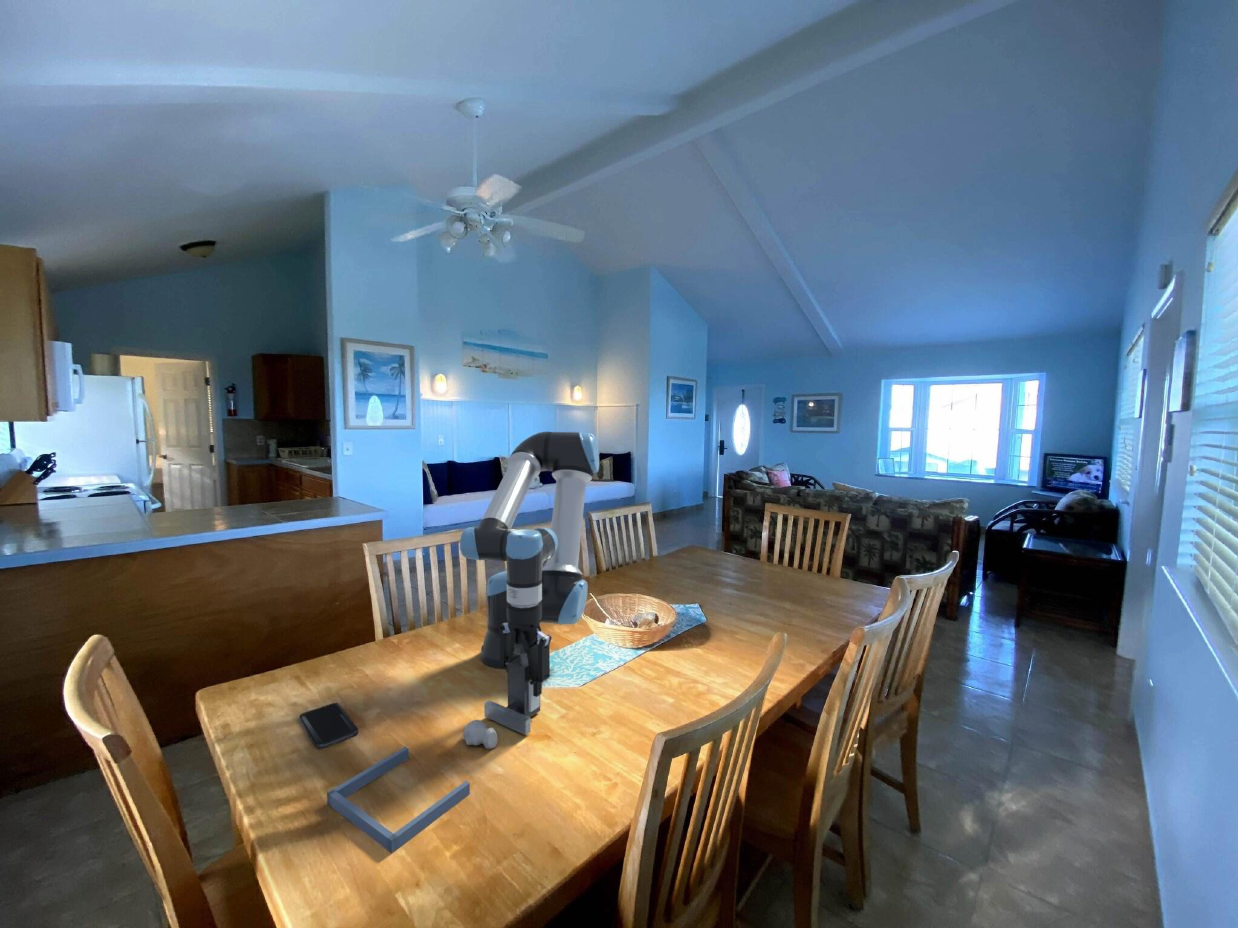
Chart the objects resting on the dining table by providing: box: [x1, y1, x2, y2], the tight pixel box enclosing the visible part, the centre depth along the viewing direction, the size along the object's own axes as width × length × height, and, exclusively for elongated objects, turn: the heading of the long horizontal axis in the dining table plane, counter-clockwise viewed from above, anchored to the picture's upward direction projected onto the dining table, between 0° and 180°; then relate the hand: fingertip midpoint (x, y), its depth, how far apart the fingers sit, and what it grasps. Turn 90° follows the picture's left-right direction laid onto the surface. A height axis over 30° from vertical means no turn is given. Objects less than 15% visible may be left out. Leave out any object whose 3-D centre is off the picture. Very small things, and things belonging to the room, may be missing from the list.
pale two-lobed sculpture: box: [462, 719, 498, 750], centre depth 105 cm, size 4×8×5 cm
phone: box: [298, 702, 359, 750], centre depth 110 cm, size 8×1×15 cm
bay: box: [326, 746, 471, 854], centre depth 90 cm, size 15×18×2 cm
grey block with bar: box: [483, 653, 541, 736], centre depth 114 cm, size 8×12×12 cm
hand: (524, 704), depth 115 cm, fingers closed on grey block with bar, 5 cm apart
